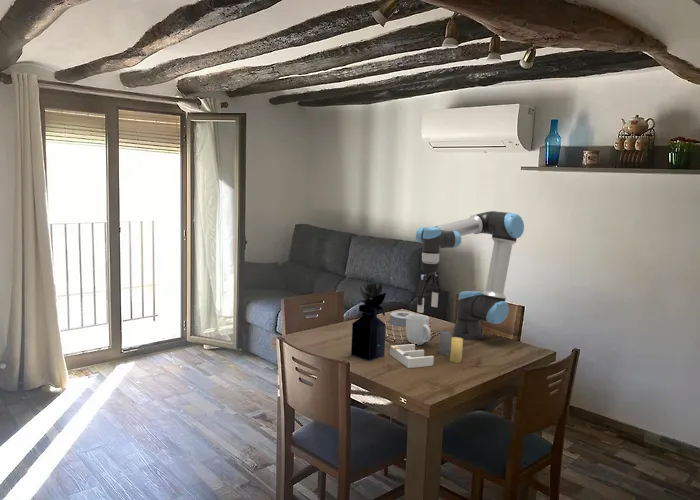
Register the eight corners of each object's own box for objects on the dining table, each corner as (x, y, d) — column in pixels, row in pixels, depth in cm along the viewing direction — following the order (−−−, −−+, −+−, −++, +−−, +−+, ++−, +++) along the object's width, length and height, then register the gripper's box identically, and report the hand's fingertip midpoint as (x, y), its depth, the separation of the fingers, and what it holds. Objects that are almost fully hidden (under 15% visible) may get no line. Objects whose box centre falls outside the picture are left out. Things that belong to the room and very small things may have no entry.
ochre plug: (457, 358, 244) (459, 336, 242) (463, 362, 239) (465, 340, 238) (447, 359, 242) (449, 337, 240) (453, 363, 237) (455, 340, 236)
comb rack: (413, 352, 250) (414, 342, 249) (433, 365, 233) (433, 355, 232) (389, 354, 245) (390, 344, 245) (408, 368, 229) (408, 357, 228)
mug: (438, 347, 259) (439, 320, 257) (420, 350, 253) (421, 323, 251) (417, 338, 271) (419, 312, 269) (400, 341, 265) (401, 315, 263)
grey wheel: (423, 324, 299) (423, 315, 298) (406, 329, 288) (406, 319, 287) (401, 318, 309) (401, 309, 309) (383, 322, 298) (384, 313, 298)
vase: (391, 357, 242) (395, 279, 237) (374, 362, 233) (378, 282, 229) (366, 349, 251) (370, 274, 247) (350, 354, 243) (353, 277, 238)
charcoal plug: (445, 351, 253) (447, 330, 252) (451, 354, 248) (453, 333, 247) (436, 352, 251) (437, 331, 250) (442, 355, 246) (443, 334, 245)
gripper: (435, 258, 251) (432, 303, 254) (408, 264, 231) (406, 313, 234) (450, 260, 247) (447, 305, 250) (424, 266, 227) (421, 316, 230)
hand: (427, 309), depth 242 cm, fingers open, 13 cm apart
